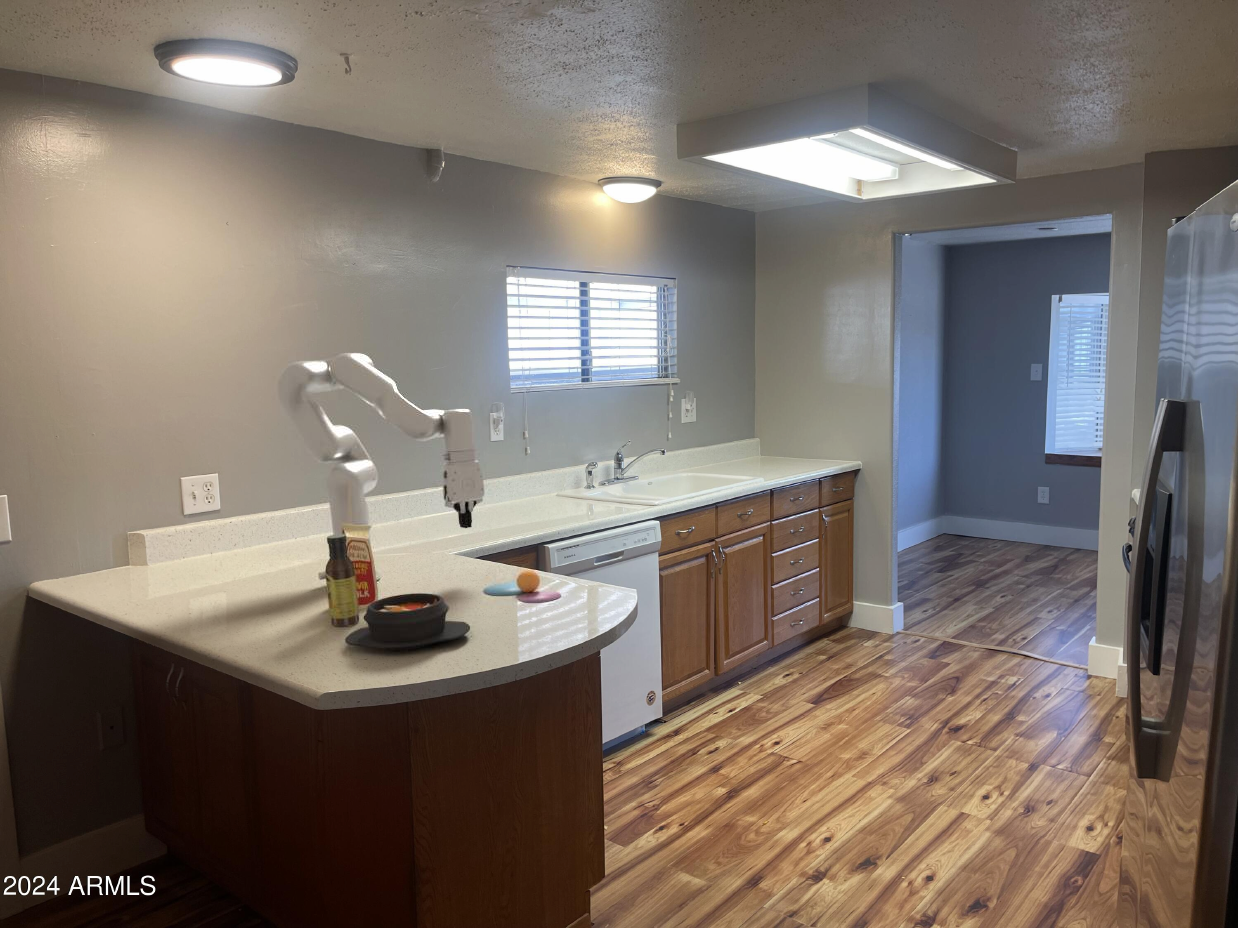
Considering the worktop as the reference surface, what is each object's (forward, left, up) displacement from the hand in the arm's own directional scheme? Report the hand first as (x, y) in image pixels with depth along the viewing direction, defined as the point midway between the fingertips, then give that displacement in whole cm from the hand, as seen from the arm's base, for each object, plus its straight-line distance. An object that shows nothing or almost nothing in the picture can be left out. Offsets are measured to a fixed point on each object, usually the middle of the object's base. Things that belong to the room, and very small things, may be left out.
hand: (465, 527), depth 240 cm
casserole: (-38, -39, -14) cm, 56 cm away
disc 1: (0, -19, -13) cm, 23 cm away
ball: (+1, -26, -11) cm, 28 cm away
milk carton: (-31, -1, -14) cm, 34 cm away
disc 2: (0, -32, -13) cm, 34 cm away
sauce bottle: (-41, -15, -14) cm, 46 cm away
